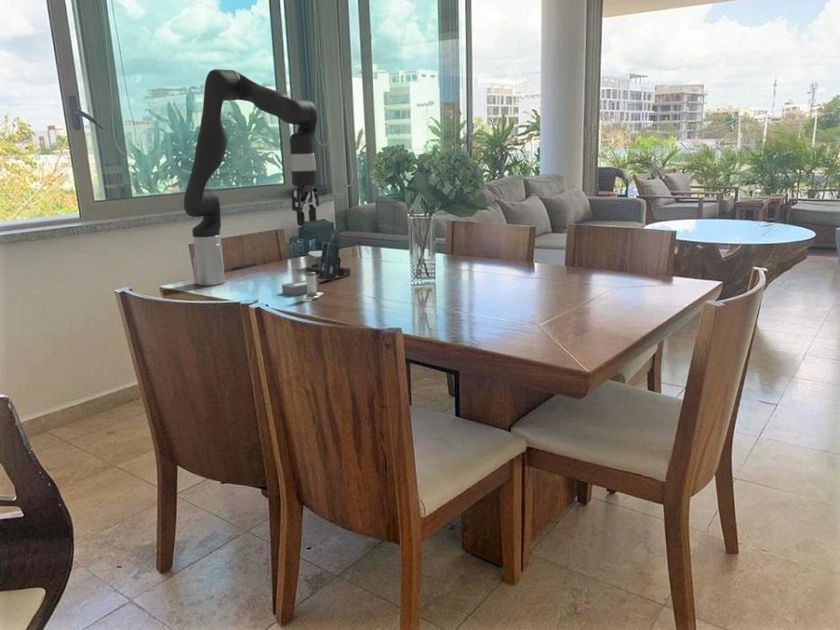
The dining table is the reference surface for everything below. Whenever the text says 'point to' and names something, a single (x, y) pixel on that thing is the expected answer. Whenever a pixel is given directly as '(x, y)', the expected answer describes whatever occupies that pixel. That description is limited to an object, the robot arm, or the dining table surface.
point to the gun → (331, 261)
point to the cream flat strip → (311, 299)
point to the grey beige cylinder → (311, 285)
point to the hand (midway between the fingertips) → (307, 223)
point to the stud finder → (297, 288)
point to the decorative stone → (314, 260)
